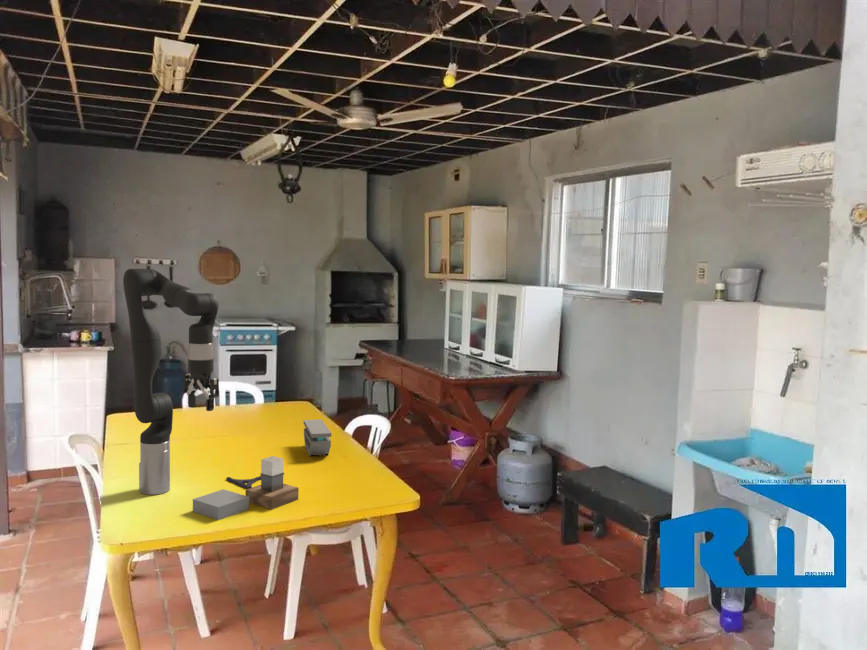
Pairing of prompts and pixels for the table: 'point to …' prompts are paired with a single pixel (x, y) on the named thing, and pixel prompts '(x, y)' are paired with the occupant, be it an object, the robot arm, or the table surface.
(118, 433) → the table surface
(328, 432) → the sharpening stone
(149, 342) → the robot arm
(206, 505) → the stand
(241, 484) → the bracket
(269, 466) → the block
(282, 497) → the stand
